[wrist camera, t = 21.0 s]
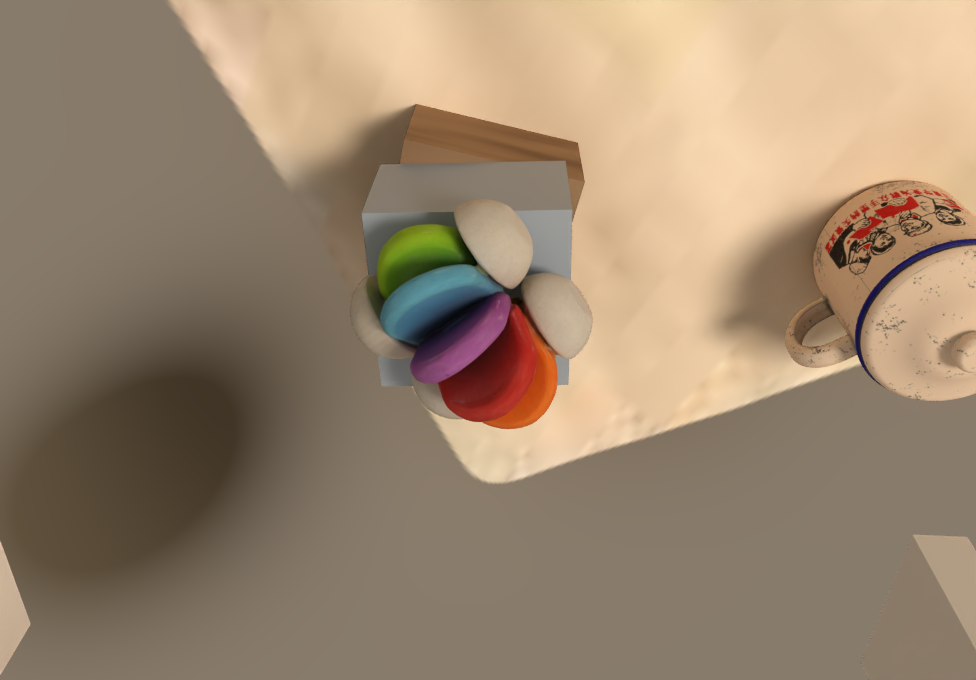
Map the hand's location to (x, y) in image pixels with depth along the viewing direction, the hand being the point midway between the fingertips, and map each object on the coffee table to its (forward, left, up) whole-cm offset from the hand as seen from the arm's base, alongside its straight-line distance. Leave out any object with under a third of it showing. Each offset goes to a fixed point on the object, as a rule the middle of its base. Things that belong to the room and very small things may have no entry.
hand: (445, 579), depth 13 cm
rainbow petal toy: (+9, 0, -25) cm, 27 cm away
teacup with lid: (+12, +22, -37) cm, 45 cm away
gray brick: (+10, 0, -31) cm, 32 cm away
